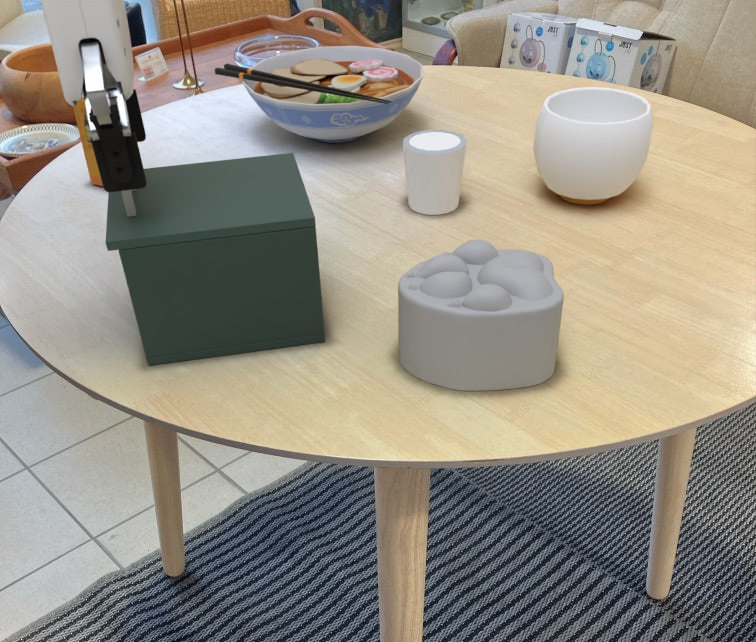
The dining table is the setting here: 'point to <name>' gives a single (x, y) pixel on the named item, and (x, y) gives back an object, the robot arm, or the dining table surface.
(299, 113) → the ramen bowl
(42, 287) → the dining table surface
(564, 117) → the cup
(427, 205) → the shot glass
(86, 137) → the supplement box
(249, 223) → the lid
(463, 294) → the lumpy-topped squat cylinder
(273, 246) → the chest
